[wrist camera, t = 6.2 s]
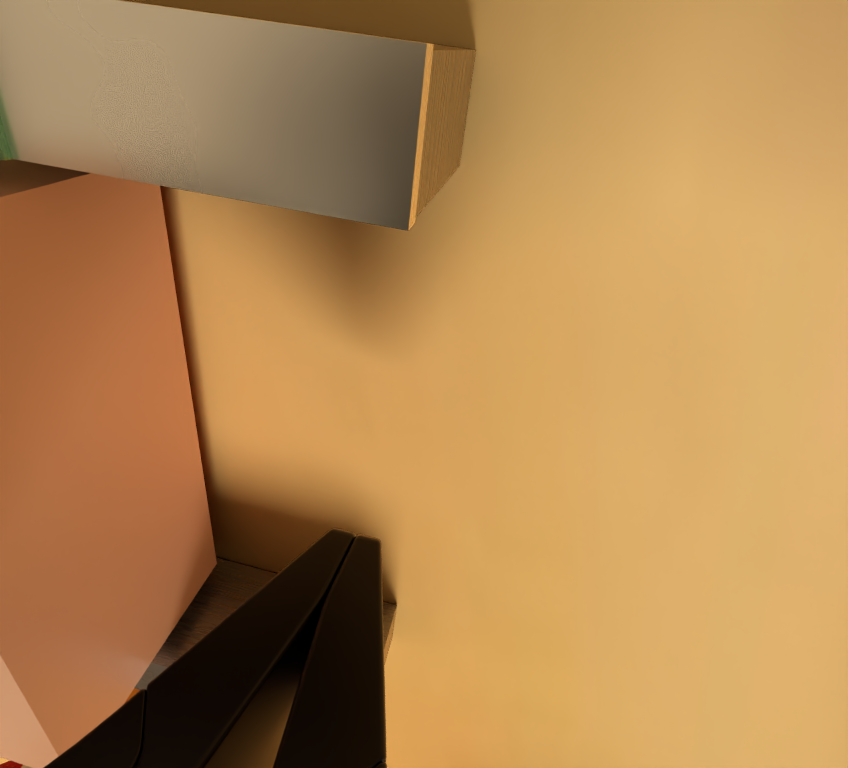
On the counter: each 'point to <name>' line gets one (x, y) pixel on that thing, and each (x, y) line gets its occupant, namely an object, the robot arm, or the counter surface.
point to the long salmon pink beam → (89, 453)
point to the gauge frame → (233, 137)
